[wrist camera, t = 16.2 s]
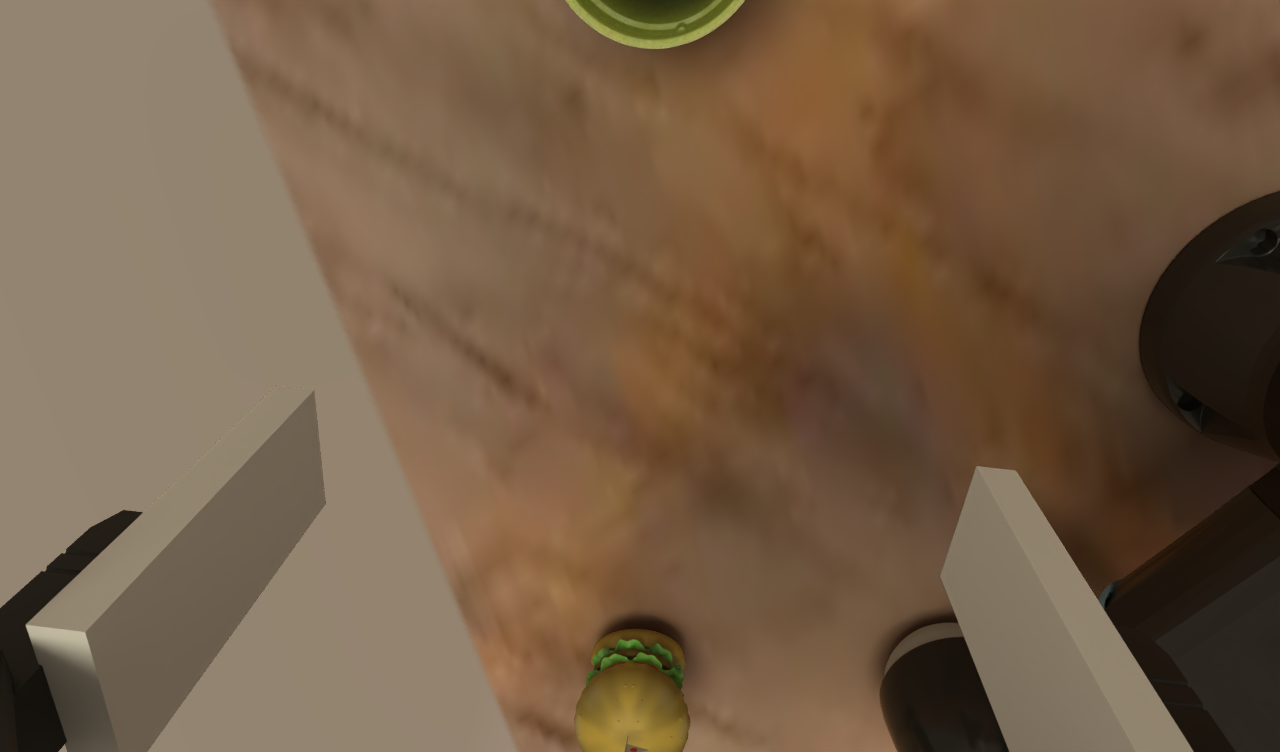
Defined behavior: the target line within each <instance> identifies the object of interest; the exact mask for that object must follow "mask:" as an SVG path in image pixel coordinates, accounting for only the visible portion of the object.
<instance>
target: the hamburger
mask: <svg viewBox="0 0 1280 752" xmlns="http://www.w3.org/2000/svg"><path fill="white" fill-rule="evenodd" d="M591 664H592V665H593V666H594V671H590V672H589V674H588V677H587V680H586V688H585V689H584V690H583V692H582V694H581V697H580V699H579V701H578V703H577V706H576V714H575V718H574V723H575V729H576V736H577V740H578V742H579V745H580V748H581V750H582V752H682V751H683V749H684V747H685V744H686V742H687V739H688V730H689V727H690V717H689V714H688V708H687V705H686V704H685V702H684V699H683V697H684V695H682V692H681V689H682V681H683V673H682V670H683V669H684V667H685V664H686V661H685V658H684V654H683V651H682V649H681V647H680V646H679V644H678V643H677V642H675V641H674V640H673V639H672V638H670V637H668V636H667V635H664V634H662V633H659V632H656V631H652V630H646V629H625V630H619V631H615V632H612V633H610V634H608V635H606V636H604V637H603V638H601V639H600V640H599V641H598V642H597V644H596V645H595V647H594V649H593V652H592V657H591Z"/></svg>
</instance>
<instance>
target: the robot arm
mask: <svg viewBox="0 0 1280 752" xmlns="http://www.w3.org/2000/svg"><path fill="white" fill-rule="evenodd" d="M1140 353H1141V360H1142V365H1143V369H1144V372H1145V375H1146V378H1147V380H1148V382H1149V384H1150V386H1151V388H1152V389H1153V391H1154V392H1155V394H1156V395H1157V396H1158V397H1159V399H1160V400H1161V401H1162V402H1163V403H1164V404H1165V405H1166V406H1167V407H1168V408H1169V409H1170V410H1171V411H1173V412H1174V413H1175V414H1176V415H1177V416H1178V417H1179V418H1180V419H1181V420H1182V421H1184V422H1185V423H1186V424H1187V425H1188V426H1190V427H1191V428H1193V429H1194V430H1196V431H1197V432H1199V433H1201V434H1203V435H1204V436H1206V437H1208V438H1210V439H1212V440H1214V441H1217V442H1220V443H1222V444H1225V445H1228V446H1231V447H1234V448H1237V449H1240V450H1243V451H1246V452H1249V453H1252V454H1255V455H1258V456H1261V457H1264V458H1267V459H1270V460H1273V461H1276V462H1279V464H1278V465H1277V466H1276V467H1274V468H1273V469H1272V470H1270V471H1269V472H1268V473H1266V474H1265V475H1264V476H1262V477H1261V478H1260V479H1258V480H1257V481H1256V482H1254V483H1253V484H1252V485H1250V486H1248V487H1247V488H1246V489H1244V490H1243V491H1242V492H1240V493H1239V494H1238V495H1236V496H1235V497H1234V498H1232V499H1231V500H1230V501H1228V502H1227V503H1226V504H1224V505H1223V506H1222V507H1220V508H1219V509H1218V510H1216V511H1215V512H1214V513H1212V514H1211V515H1210V516H1208V517H1207V518H1206V519H1204V520H1203V521H1202V522H1200V523H1199V524H1198V525H1196V526H1195V527H1193V528H1192V529H1191V530H1189V531H1188V532H1187V533H1185V534H1184V535H1182V536H1181V537H1180V538H1178V539H1177V540H1176V541H1174V542H1173V543H1171V544H1170V545H1169V546H1167V547H1166V548H1165V549H1163V550H1162V551H1160V552H1159V553H1158V554H1156V555H1155V556H1154V557H1152V558H1151V559H1149V560H1148V561H1147V562H1145V563H1144V564H1143V565H1141V566H1140V567H1138V568H1137V569H1136V570H1134V571H1133V572H1132V573H1130V574H1129V575H1127V576H1126V577H1125V578H1123V579H1121V580H1119V581H1115V582H1112V583H1111V584H1109V585H1108V586H1107V587H1106V588H1105V589H1104V590H1103V592H1102V593H1101V595H1100V597H1099V599H1098V600H1097V598H1096V596H1095V595H1094V593H1093V592H1092V590H1091V588H1090V587H1089V585H1088V584H1087V582H1086V581H1085V579H1084V577H1083V576H1082V574H1081V573H1080V571H1079V570H1078V568H1077V566H1076V565H1075V563H1074V562H1073V560H1072V558H1071V557H1070V555H1069V554H1068V552H1067V551H1066V549H1065V547H1064V546H1063V544H1062V543H1061V541H1060V539H1059V538H1058V536H1057V535H1056V533H1055V532H1054V530H1053V528H1052V527H1051V525H1050V524H1049V522H1048V521H1047V519H1046V517H1045V516H1044V514H1043V513H1042V511H1041V509H1040V508H1039V506H1038V505H1037V503H1036V502H1035V500H1034V498H1033V497H1032V495H1031V494H1030V492H1029V490H1028V489H1027V487H1026V486H1025V484H1024V483H1023V481H1022V479H1021V478H1020V476H1019V475H1018V473H1017V472H1016V471H1015V470H1006V469H997V468H989V467H980V466H976V469H975V472H974V475H973V478H972V481H971V484H970V487H969V490H968V493H967V496H966V499H965V502H964V506H963V509H962V512H961V515H960V518H959V521H958V524H957V527H956V530H955V533H954V536H953V539H952V542H951V545H950V548H949V551H948V554H947V557H946V560H945V563H944V566H943V569H942V572H941V575H940V577H941V580H942V582H943V585H944V587H945V590H946V592H947V595H948V597H949V600H950V602H951V605H952V607H953V610H954V612H955V615H956V618H957V620H958V623H959V625H960V628H961V630H962V633H963V635H964V638H965V640H966V643H967V645H968V648H969V651H970V653H971V656H972V658H973V661H974V663H975V666H976V668H977V671H978V673H979V676H980V678H981V681H982V683H983V686H984V689H985V691H986V694H987V696H988V699H989V701H990V704H991V706H992V709H993V711H994V714H995V716H996V719H997V721H998V724H999V727H1000V729H1001V732H1002V734H1003V737H1004V739H1005V742H1006V744H1007V747H1008V749H1009V752H1280V192H1277V193H1274V194H1271V195H1268V196H1265V197H1262V198H1260V199H1257V200H1255V201H1253V202H1250V203H1248V204H1246V205H1244V206H1242V207H1240V208H1238V209H1236V210H1235V211H1233V212H1231V213H1229V214H1228V215H1226V216H1224V217H1223V218H1221V219H1220V220H1218V221H1217V222H1215V223H1214V224H1213V225H1211V226H1210V227H1209V228H1207V229H1206V230H1205V231H1203V232H1202V233H1201V234H1200V235H1199V236H1197V237H1196V238H1195V239H1194V240H1193V241H1192V242H1191V243H1190V244H1189V245H1188V246H1187V247H1186V248H1185V249H1184V250H1183V251H1182V252H1181V253H1180V254H1179V255H1178V256H1177V257H1176V259H1175V260H1174V261H1173V262H1172V264H1171V265H1170V266H1169V268H1168V269H1167V270H1166V272H1165V273H1164V275H1163V276H1162V278H1161V279H1160V281H1159V283H1158V284H1157V286H1156V288H1155V290H1154V292H1153V294H1152V296H1151V298H1150V301H1149V303H1148V306H1147V309H1146V311H1145V315H1144V319H1143V323H1142V328H1141V336H1140ZM325 504H326V501H325V492H324V482H323V472H322V462H321V452H320V442H319V432H318V424H317V413H316V404H315V394H314V390H310V389H301V388H292V387H283V386H276V387H274V388H273V389H272V390H271V391H270V392H269V393H268V394H267V395H266V396H265V397H264V398H263V399H262V400H261V401H260V402H259V403H258V404H257V405H256V406H254V408H252V409H251V410H250V411H249V412H248V413H247V414H246V415H245V416H244V417H243V418H242V419H241V420H240V421H239V422H238V423H237V424H236V425H235V426H233V428H231V429H230V430H229V431H228V432H227V433H226V434H225V435H224V436H223V437H222V438H221V439H220V440H219V441H218V442H217V443H216V444H215V445H214V446H213V447H211V448H210V449H209V450H208V451H207V452H206V453H205V454H204V455H203V456H202V457H201V458H200V459H199V460H198V461H197V462H196V463H195V464H194V465H193V466H192V467H190V468H189V470H187V471H186V472H185V473H184V474H183V475H182V476H181V477H180V478H179V479H178V480H177V481H176V482H175V483H174V484H173V485H172V486H171V487H170V488H168V489H167V490H166V491H165V492H164V493H163V494H162V495H161V496H160V497H159V498H158V499H157V500H156V501H155V502H154V503H153V504H152V505H151V506H150V507H149V508H147V509H146V511H144V512H143V513H142V512H135V511H126V510H123V511H121V512H119V513H117V514H115V515H113V516H111V517H110V518H108V519H106V520H104V521H102V522H100V523H98V524H96V525H95V526H92V527H91V528H89V529H88V530H87V531H86V532H85V533H84V534H83V535H82V536H80V537H79V538H78V539H77V540H76V541H75V542H74V543H73V544H72V545H71V546H69V547H68V548H67V549H66V553H65V554H60V555H59V556H58V557H57V558H56V559H55V560H54V561H53V562H51V563H50V564H49V565H48V566H47V569H46V571H45V572H43V571H41V572H40V573H39V574H38V575H37V576H36V577H35V578H34V579H33V580H31V581H30V582H29V583H28V584H27V585H26V586H25V587H24V588H22V589H21V590H20V591H19V592H18V593H17V594H16V595H15V596H13V597H12V598H11V599H10V600H9V601H8V602H7V603H6V604H5V605H3V606H2V607H1V608H0V752H58V751H59V750H60V749H61V748H62V747H63V745H64V744H65V746H66V749H67V752H147V751H148V750H149V749H150V747H151V745H152V744H153V743H154V742H155V740H156V739H157V737H158V736H159V735H160V733H161V732H162V731H163V729H164V728H165V726H166V725H167V724H168V722H169V721H170V719H171V718H172V717H173V715H174V714H175V712H176V711H177V710H178V708H179V707H180V706H181V704H182V703H183V701H184V700H185V699H186V697H187V696H188V694H189V693H190V692H191V690H192V689H193V687H194V686H195V685H196V683H197V682H198V681H199V679H200V678H201V676H202V675H203V673H204V672H205V671H206V669H207V668H208V667H209V665H210V664H211V662H212V661H213V660H214V658H215V657H216V656H217V654H218V653H219V651H220V650H221V648H222V647H223V646H224V644H225V643H226V642H227V640H228V639H229V637H230V636H231V635H232V633H233V632H234V631H235V629H236V628H237V626H238V625H239V623H240V622H241V621H242V619H243V618H244V617H245V615H246V614H247V612H248V611H249V610H250V608H251V607H252V605H253V604H254V603H255V601H256V600H257V599H258V597H259V595H260V594H261V593H262V592H263V590H264V589H265V587H266V586H267V585H268V583H269V582H270V580H271V579H272V578H273V576H274V575H275V573H276V572H277V571H278V569H279V568H280V567H281V565H282V564H283V562H284V561H285V559H286V558H287V557H288V555H289V554H290V553H291V551H292V550H293V548H294V547H295V546H296V544H297V543H298V542H299V540H300V539H301V537H302V536H303V535H304V533H305V532H306V530H307V529H308V528H309V526H310V525H311V523H312V522H313V521H314V519H315V518H316V516H317V515H318V514H319V512H320V511H321V509H322V508H323V507H324V505H325Z"/></svg>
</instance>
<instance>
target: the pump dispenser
mask: <svg viewBox="0 0 1280 752" xmlns="http://www.w3.org/2000/svg"><path fill="white" fill-rule="evenodd" d="M880 704H881V709H882V713H883V716H884V720H885V723H886V725H887V728H888V731H889V733H890V736H891V738H892V741H893V743H894V745H895V748H896V750H897V752H1009V749H1008V747H1007V744H1006V742H1005V739H1004V737H1003V734H1002V732H1001V729H1000V727H999V724H998V721H997V719H996V716H995V714H994V711H993V709H992V706H991V704H990V701H989V699H988V696H987V694H986V691H985V689H984V686H983V683H982V681H981V678H980V676H979V673H978V671H977V668H976V666H975V663H974V661H973V658H972V656H971V653H970V651H969V648H968V645H967V643H966V640H965V638H964V635H963V633H962V630H961V628H960V625H959V623H938V624H932V625H929V626H925V627H923V628H920V629H918V630H916V631H914V632H912V633H911V634H909V635H908V636H907V637H905V638H904V639H903V640H902V641H901V642H900V643H899V644H898V645H897V646H896V648H895V649H894V650H893V652H892V654H891V655H890V657H889V659H888V662H887V665H886V668H885V672H884V678H883V681H882V684H881V688H880Z"/></svg>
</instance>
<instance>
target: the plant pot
mask: <svg viewBox="0 0 1280 752" xmlns="http://www.w3.org/2000/svg"><path fill="white" fill-rule="evenodd" d="M744 1H745V0H566V2H567V3H568V5H569V6H570V7H571V8H572V10H573V11H574V12H575V13H576V14H577V15H578V16H579V17H580V18H581V19H582V20H583V21H584V22H585V23H587V24H588V25H589V26H591V27H592V28H593V29H595V30H596V31H597V32H599V33H600V34H602V35H604V36H606V37H607V38H609V39H611V40H614V41H616V42H619V43H621V44H624V45H628V46H632V47H637V48H644V49H664V48H671V47H676V46H681V45H684V44H687V43H690V42H693V41H695V40H697V39H700V38H702V37H704V36H705V35H707V34H709V33H710V32H712V31H714V30H715V29H716V28H718V27H719V26H720V25H722V24H723V23H724V22H725V21H726V20H728V19H729V18H730V17H731V16H732V15H733V14H734V13H735V12H736V11H737V9H738V8H739V7H740V6H741V5H742V4H743V2H744Z"/></svg>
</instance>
